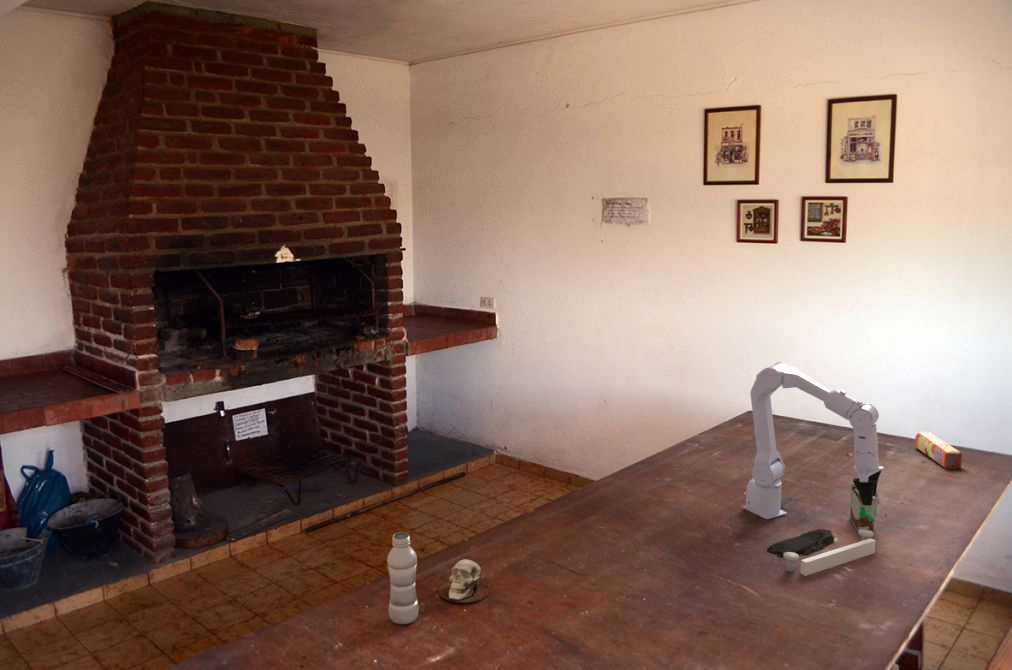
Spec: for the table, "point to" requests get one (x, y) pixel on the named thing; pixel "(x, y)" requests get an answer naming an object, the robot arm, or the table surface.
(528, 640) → the table surface
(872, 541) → the cream long bar
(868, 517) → the food container
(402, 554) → the plastic bottle
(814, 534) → the wood
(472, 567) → the skull
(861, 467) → the robot arm
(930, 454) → the snack package
